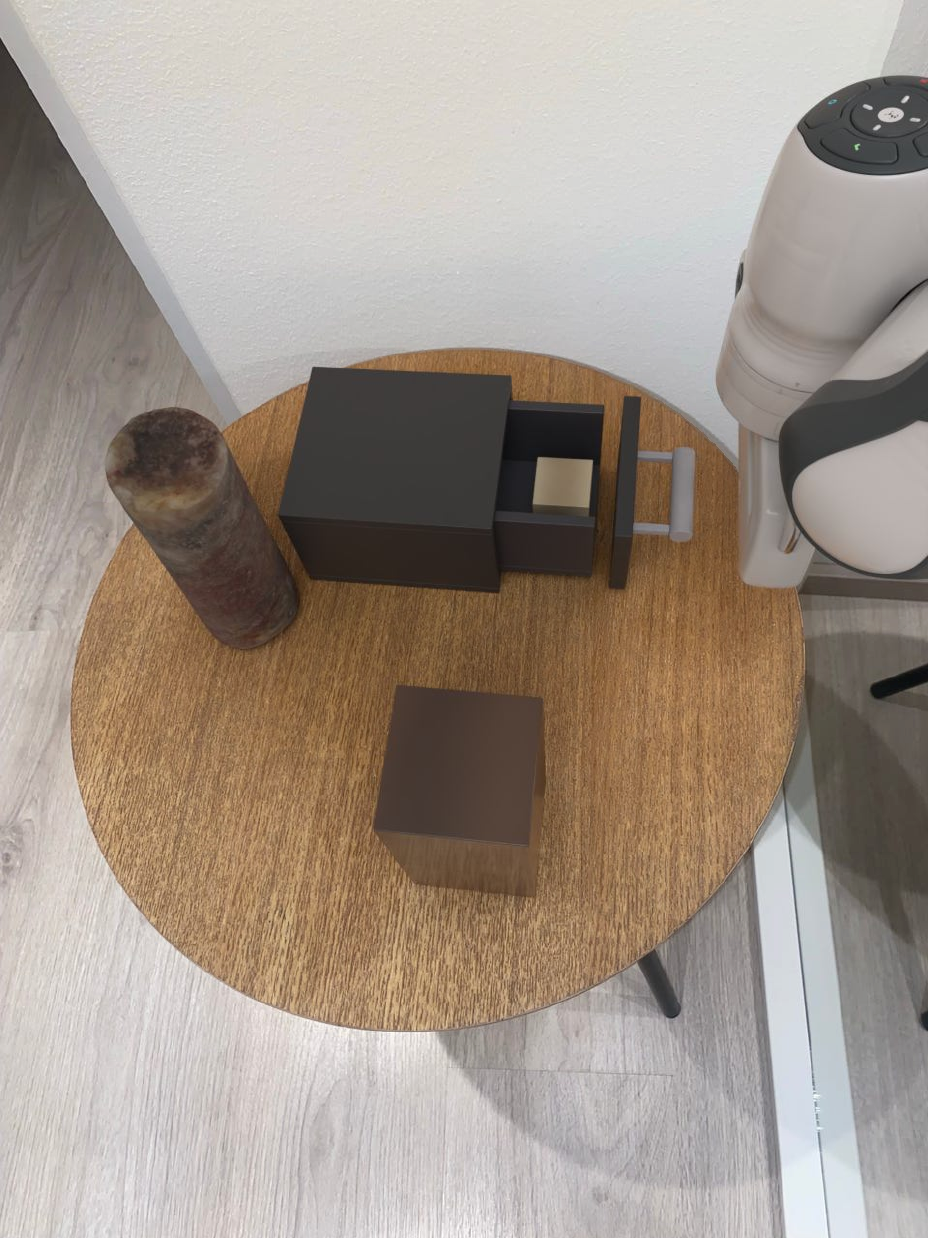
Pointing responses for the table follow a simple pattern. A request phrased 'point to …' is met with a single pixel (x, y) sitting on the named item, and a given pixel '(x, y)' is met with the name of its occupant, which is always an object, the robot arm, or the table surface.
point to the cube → (563, 486)
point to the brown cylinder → (203, 524)
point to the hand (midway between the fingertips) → (750, 493)
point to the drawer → (571, 538)
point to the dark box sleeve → (398, 478)
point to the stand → (464, 789)
